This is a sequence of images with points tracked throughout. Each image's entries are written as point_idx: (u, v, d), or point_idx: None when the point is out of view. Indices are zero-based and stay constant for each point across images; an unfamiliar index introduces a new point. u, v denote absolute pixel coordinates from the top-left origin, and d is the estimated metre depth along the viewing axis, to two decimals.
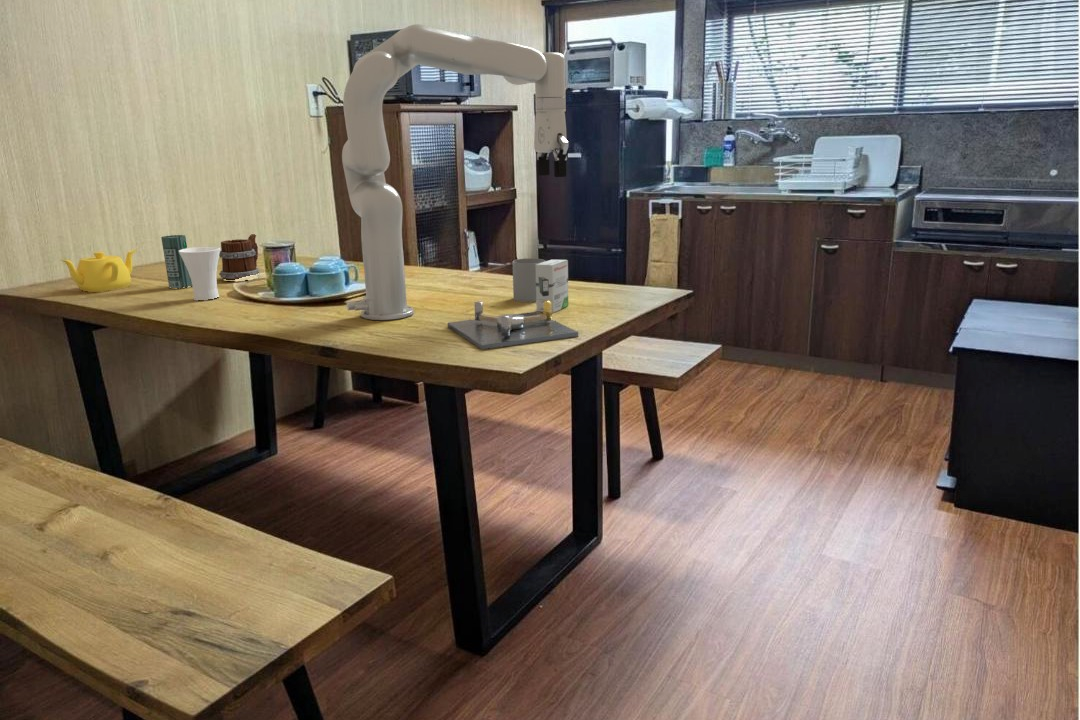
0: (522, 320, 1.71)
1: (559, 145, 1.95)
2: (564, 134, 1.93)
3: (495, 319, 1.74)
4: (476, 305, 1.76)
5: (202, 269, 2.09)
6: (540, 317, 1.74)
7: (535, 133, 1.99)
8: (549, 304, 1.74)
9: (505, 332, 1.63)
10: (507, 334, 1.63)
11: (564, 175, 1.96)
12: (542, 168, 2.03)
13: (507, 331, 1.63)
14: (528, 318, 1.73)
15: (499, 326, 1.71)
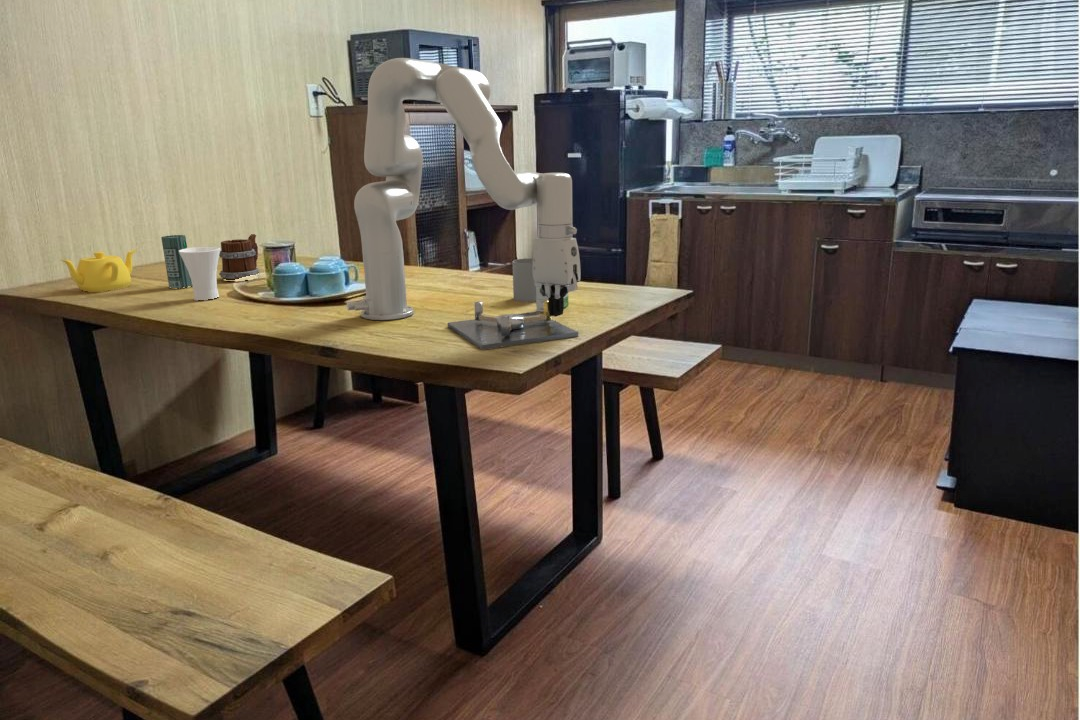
0: (522, 320, 1.71)
1: None
2: None
3: (495, 319, 1.74)
4: (476, 305, 1.76)
5: (202, 269, 2.09)
6: (540, 317, 1.74)
7: None
8: None
9: (505, 332, 1.63)
10: (507, 334, 1.63)
11: None
12: None
13: (507, 331, 1.63)
14: (528, 318, 1.73)
15: (499, 326, 1.71)
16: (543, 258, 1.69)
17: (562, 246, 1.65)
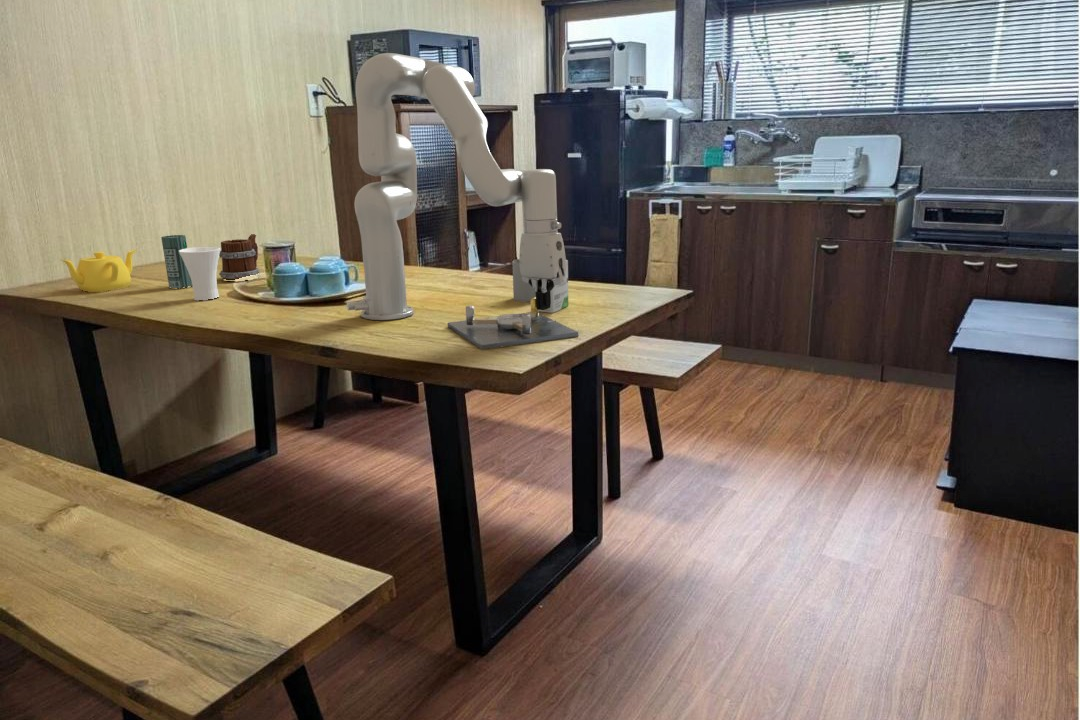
0: None
1: None
2: None
3: (493, 321, 1.72)
4: (469, 309, 1.72)
5: (202, 269, 2.09)
6: (531, 314, 1.77)
7: None
8: None
9: (528, 331, 1.64)
10: (530, 332, 1.64)
11: None
12: None
13: (530, 329, 1.64)
14: None
15: (504, 327, 1.70)
16: (529, 253, 1.72)
17: (547, 241, 1.69)
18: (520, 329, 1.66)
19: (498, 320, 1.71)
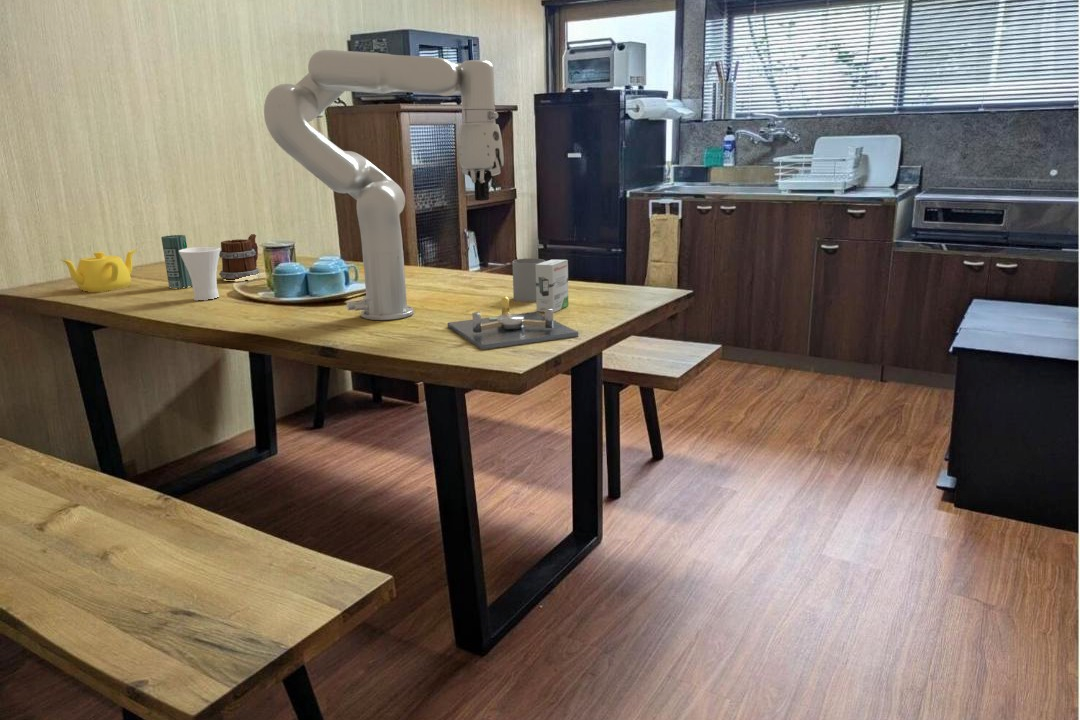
0: None
1: None
2: None
3: (499, 324, 1.69)
4: (479, 316, 1.65)
5: (202, 269, 2.09)
6: (509, 313, 1.79)
7: None
8: None
9: (552, 324, 1.69)
10: None
11: None
12: None
13: None
14: None
15: (515, 327, 1.70)
16: (468, 143, 1.79)
17: (484, 130, 1.75)
18: (540, 324, 1.69)
19: (506, 321, 1.69)
